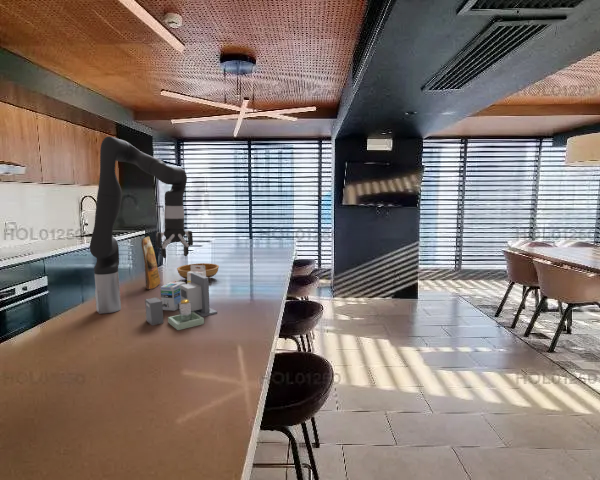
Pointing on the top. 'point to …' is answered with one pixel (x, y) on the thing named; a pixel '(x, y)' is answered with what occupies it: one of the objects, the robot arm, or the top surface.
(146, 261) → the pancake mix bag
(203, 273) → the ink cartridge box
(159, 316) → the grey block
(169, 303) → the light bulb box
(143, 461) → the top surface
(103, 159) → the robot arm
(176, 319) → the parts tray
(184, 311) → the cylinder
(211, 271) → the tan wooden bowl
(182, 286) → the wall unit
